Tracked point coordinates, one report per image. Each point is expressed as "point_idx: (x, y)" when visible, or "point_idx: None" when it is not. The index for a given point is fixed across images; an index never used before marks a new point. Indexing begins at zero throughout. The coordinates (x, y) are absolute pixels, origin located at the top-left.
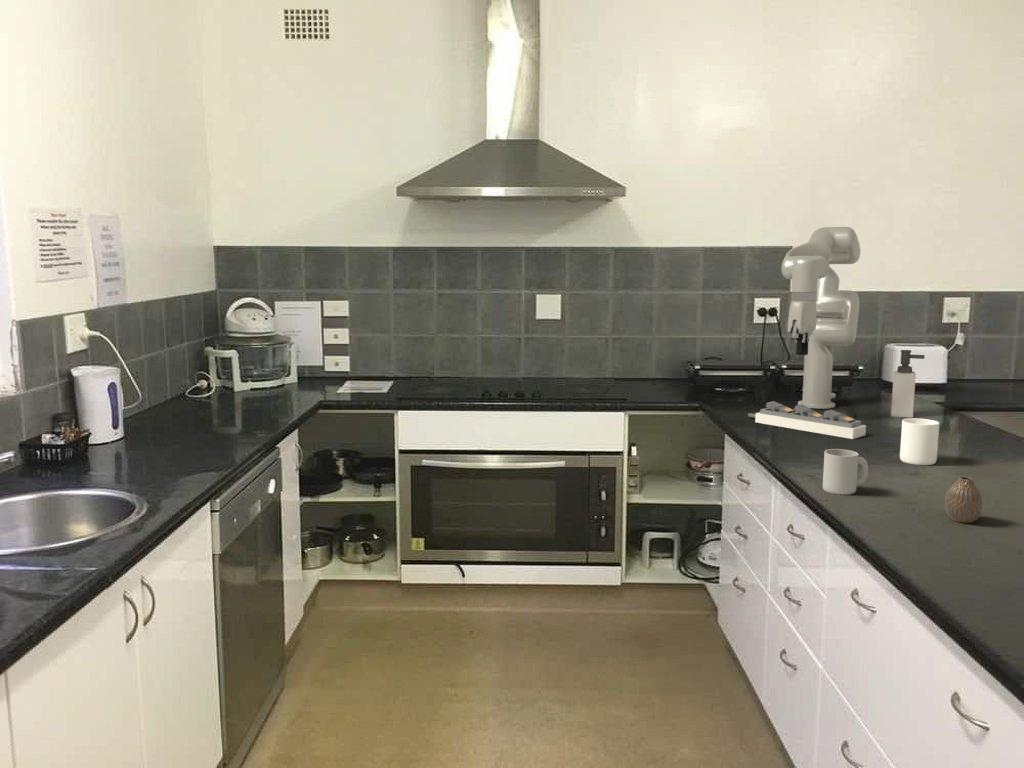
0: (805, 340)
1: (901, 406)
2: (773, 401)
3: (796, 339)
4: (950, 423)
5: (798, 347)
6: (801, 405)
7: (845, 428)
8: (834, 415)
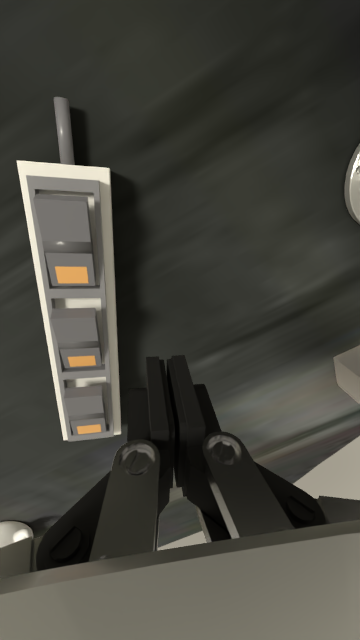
0: (193, 499)
1: (350, 383)
2: (80, 203)
3: (80, 504)
4: (316, 434)
5: (128, 421)
6: (80, 322)
7: (61, 426)
8: (68, 415)
